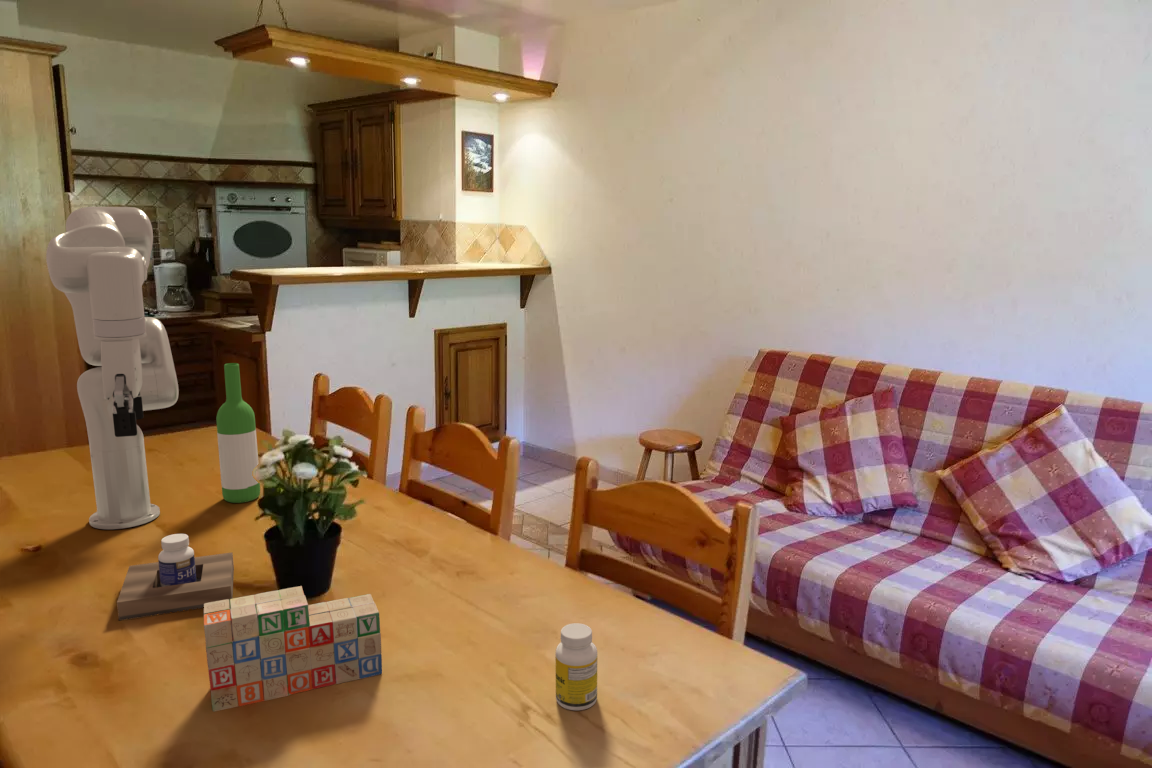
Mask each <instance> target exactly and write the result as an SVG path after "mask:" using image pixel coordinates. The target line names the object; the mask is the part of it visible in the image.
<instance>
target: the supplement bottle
mask: <svg viewBox="0 0 1152 768" xmlns="http://www.w3.org/2000/svg"><path fill="white" fill-rule="evenodd" d="M597 698H598V649H597V646H596V645H595V643H594V642H593V630H592V628H591V627H590V626H588V625H587V624H584V623H579V622H576V623H575V622H574V623H567V624H566V625H564V626H563V627H562V628H561V629H560V642H559V643H558V645H557V647H556V649H555V700H556V703H557V704H558V705H559V706H560V707H562V708H564V709H565V710H568V711H569V710H570V711H585V710H586V709H590V708H591V707H593V706H594V705H595V704H596V702H597V700H598V699H597Z"/></svg>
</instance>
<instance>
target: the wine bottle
mask: <svg viewBox="0 0 1152 768" xmlns="http://www.w3.org/2000/svg"><path fill="white" fill-rule="evenodd" d="M223 369H224V383H225V395H226V397H225V398H226V399H225V402H224V403H222V405H221V406H220V407H219V409H218V410H217V412H216V418H215V419H216V420H215V422H216V435H217V445H218V447H217V448H218V459H219V472H220V483H221V493H222V498H223V499H224V501H226V502H228V503H233V504H241V503H248V502H252V501H254V500H256V499H258V497H259V496H260V495H261V482H260V483H258V482H257V481H256V480H255V479H254V478H253V476H252V471H253V469H254V468H255V467H256V466H257V465H258V464H259V455H258V452H259V451H258V440H257V429H256V428H257V427H256V426H257V425H256V417H255V412H254V410H253V408H252V407H251V406H250V404H248V403H247V402H246V401H245V400H244V399H243V397H242V385H241V373H240V364H239V363H237V362H229V363H225V364H224V365H223Z"/></svg>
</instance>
